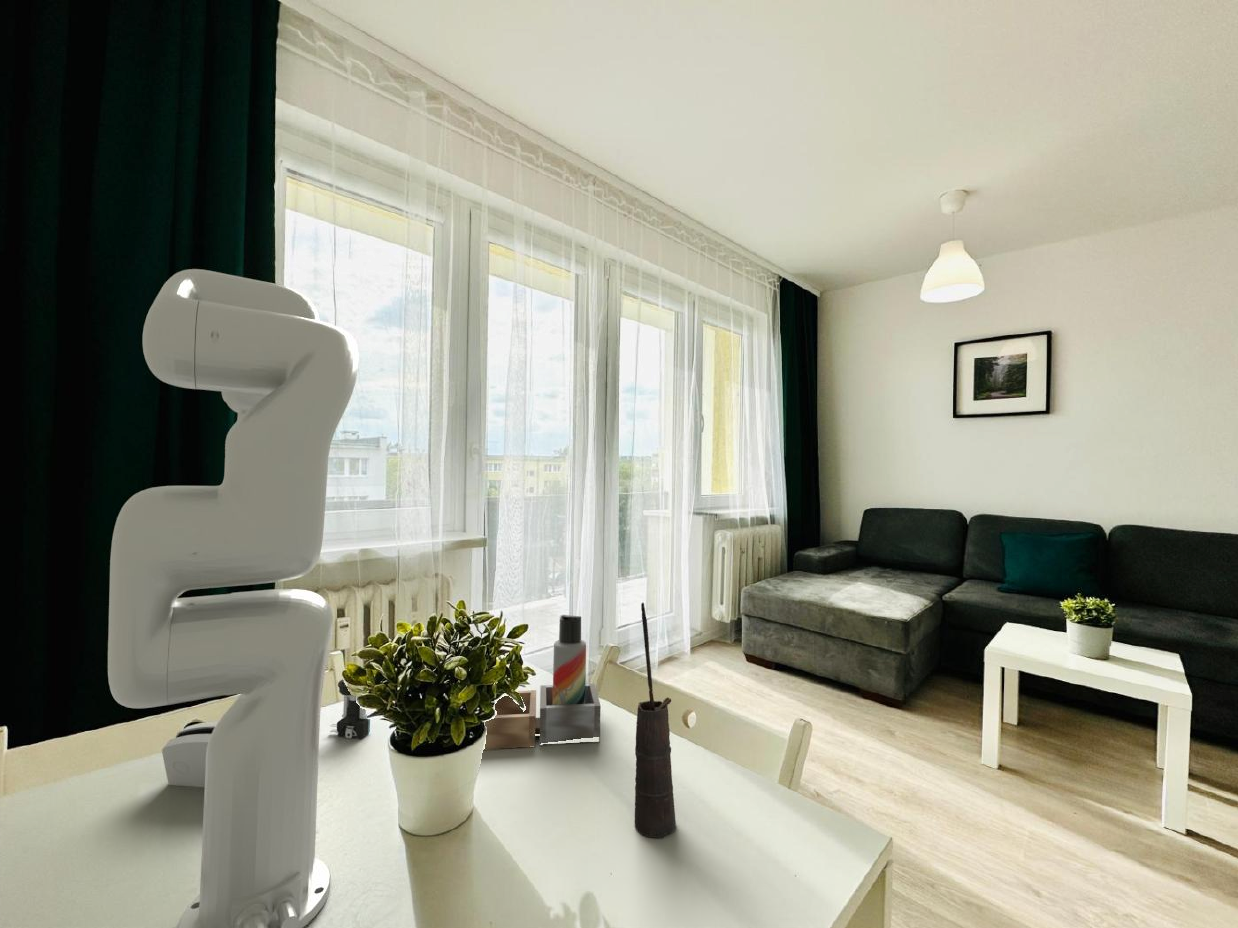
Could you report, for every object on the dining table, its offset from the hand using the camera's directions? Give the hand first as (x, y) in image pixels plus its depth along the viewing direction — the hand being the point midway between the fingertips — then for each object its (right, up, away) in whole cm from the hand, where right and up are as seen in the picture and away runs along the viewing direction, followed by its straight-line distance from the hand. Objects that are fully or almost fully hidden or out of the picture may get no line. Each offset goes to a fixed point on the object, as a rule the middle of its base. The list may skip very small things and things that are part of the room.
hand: (259, 552), depth 88 cm
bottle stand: (+46, -32, +3) cm, 56 cm away
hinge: (+5, -31, -14) cm, 34 cm away
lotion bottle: (+51, -32, +4) cm, 61 cm away
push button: (+15, -31, +1) cm, 35 cm away
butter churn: (+66, -31, -21) cm, 75 cm away
